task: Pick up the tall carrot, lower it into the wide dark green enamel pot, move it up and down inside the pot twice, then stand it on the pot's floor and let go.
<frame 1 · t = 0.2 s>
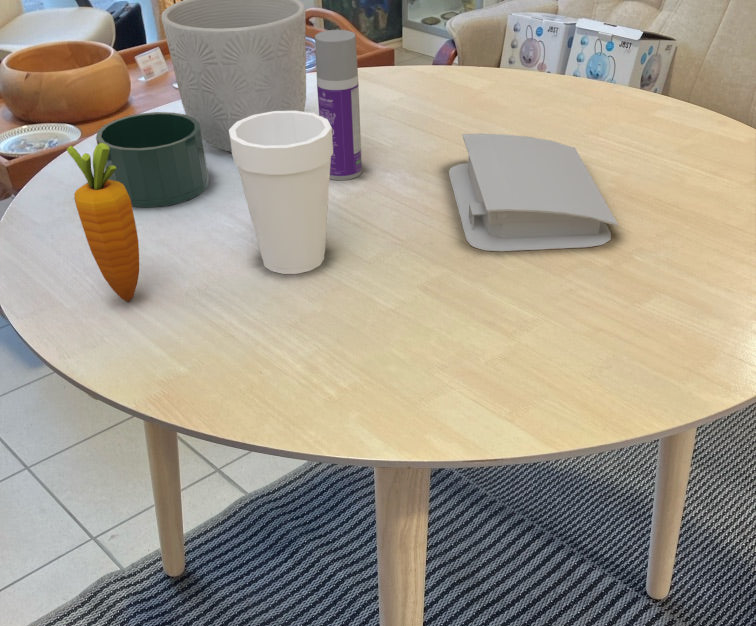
book: (524, 203, 96), on the table
container: (342, 174, 103), on the table
planter: (250, 142, 112), on the table
carrot: (128, 302, 82), on the table
foam cup: (293, 260, 88), on the table
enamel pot: (159, 186, 102), on the table
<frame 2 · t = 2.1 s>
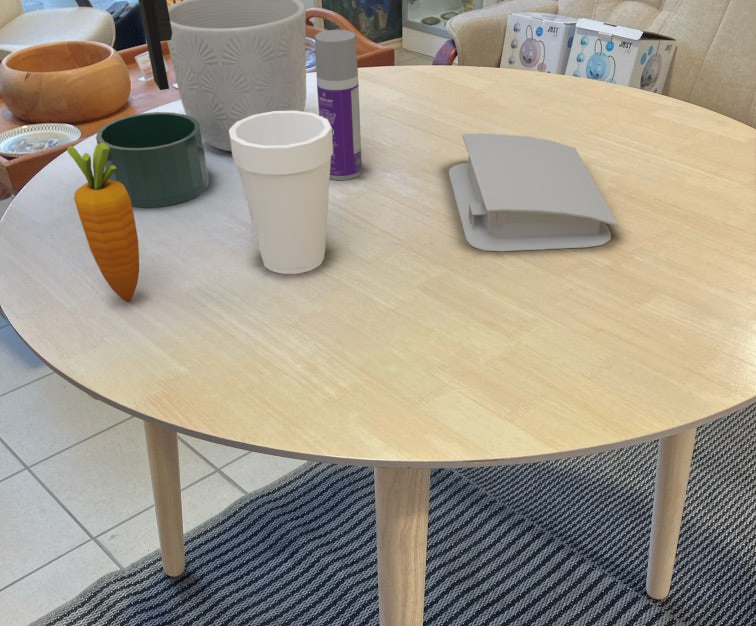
hand: (78, 98, 69), 19 cm above the table, tool pointing down, fingers open, 13 cm apart
nothing on the table moved.
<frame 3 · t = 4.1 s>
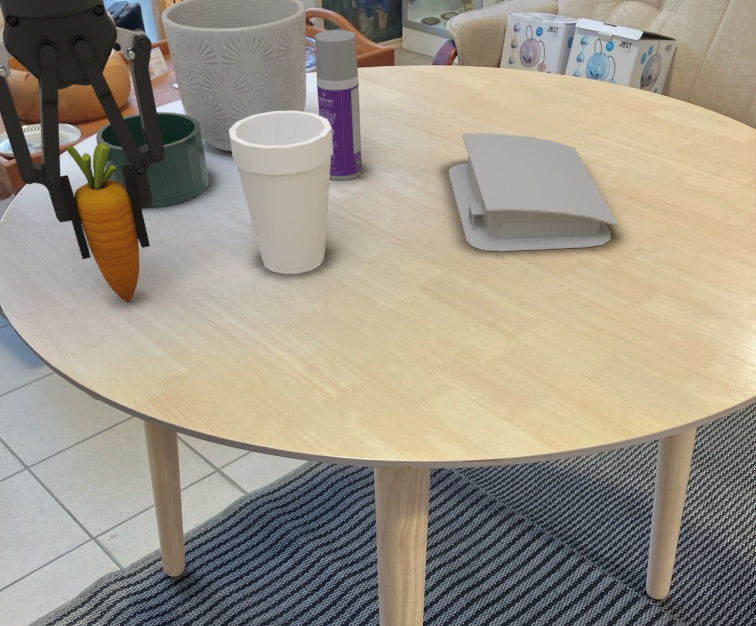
hand: (114, 245, 78), 6 cm above the table, tool pointing down, fingers closed on carrot, 5 cm apart
carrot: (128, 302, 82), on the table, touching gripper
everything else where it was.
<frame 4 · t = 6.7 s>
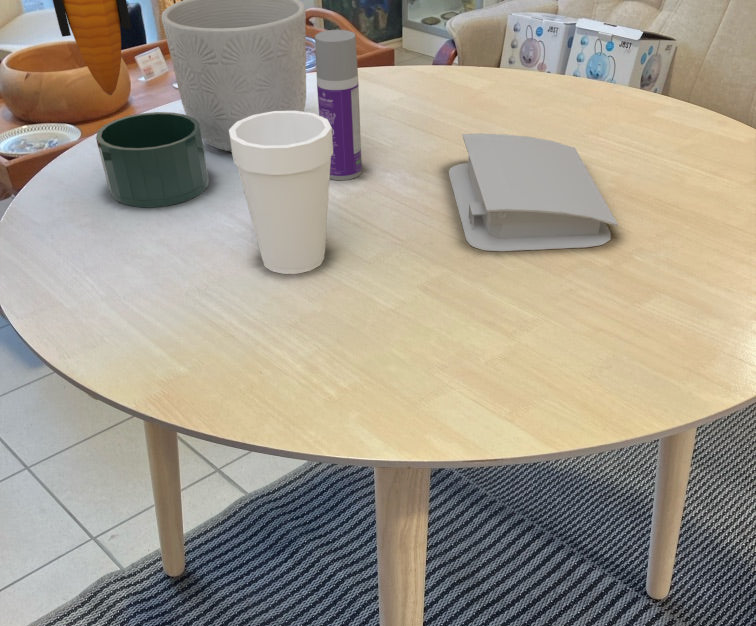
hand: (95, 27, 77), 21 cm above the table, tool pointing down, fingers closed on carrot, 5 cm apart
carrot: (110, 97, 81), point 15 cm above the table, touching gripper
everything else where it was.
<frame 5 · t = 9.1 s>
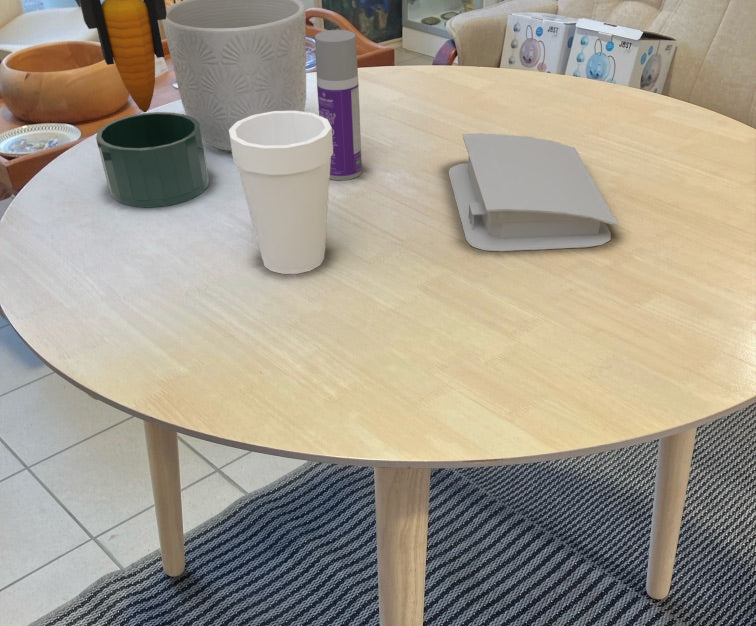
hand: (133, 56, 92), 14 cm above the table, tool pointing down, fingers closed on carrot, 5 cm apart
carrot: (145, 113, 96), point 8 cm above the table, touching gripper
everything else where it was.
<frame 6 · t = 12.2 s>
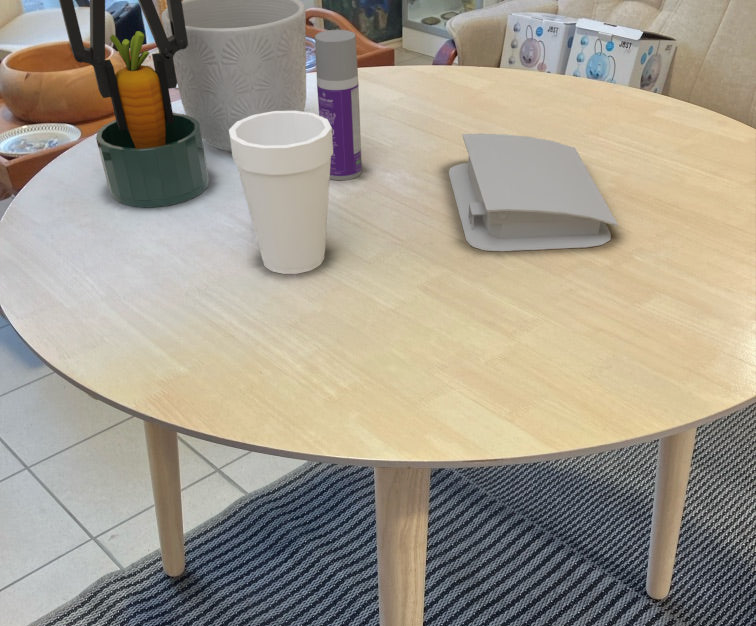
hand: (145, 122, 96), 7 cm above the table, tool pointing down, fingers closed on carrot, 5 cm apart
carrot: (155, 173, 101), point 2 cm above the table, touching gripper
everything else where it was.
when the fingers open (6 cm above the table, at t = 14.4 s): carrot stays where it is, resting on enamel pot.
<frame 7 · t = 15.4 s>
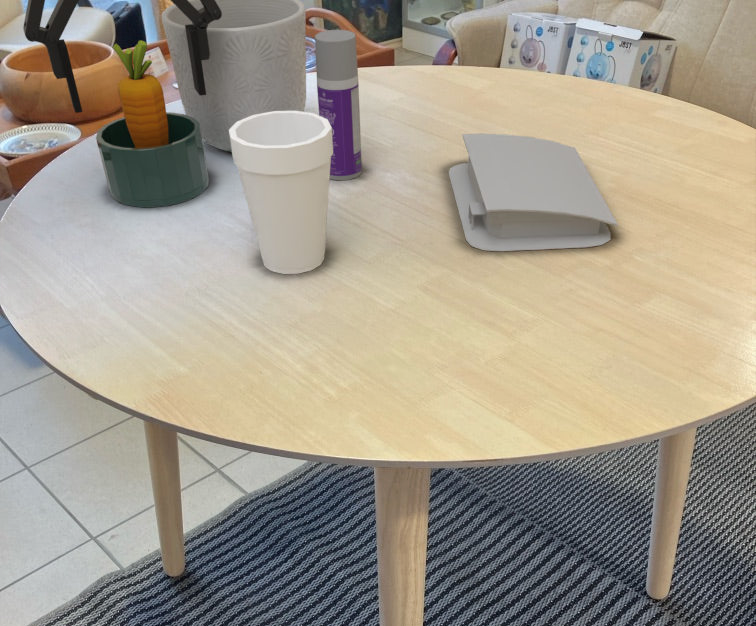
hand: (140, 100, 95), 10 cm above the table, tool pointing down, fingers open, 13 cm apart
carrot: (158, 181, 101), point 1 cm above the table, touching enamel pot
everything else where it was.
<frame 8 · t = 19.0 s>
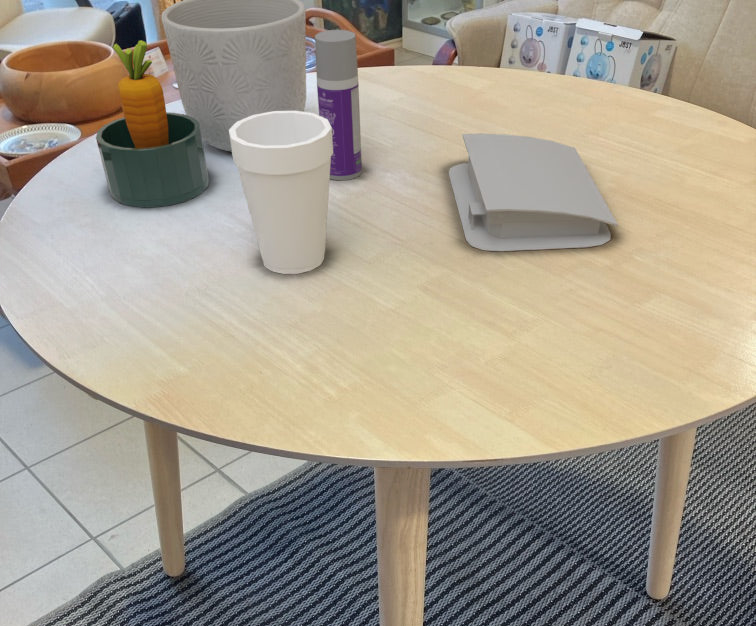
nothing on the table moved.
at the end: carrot 0.0 cm off-centre in the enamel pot, point 0.6 cm above the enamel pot's base; carrot tilted 0°; the gripper is holding nothing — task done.
